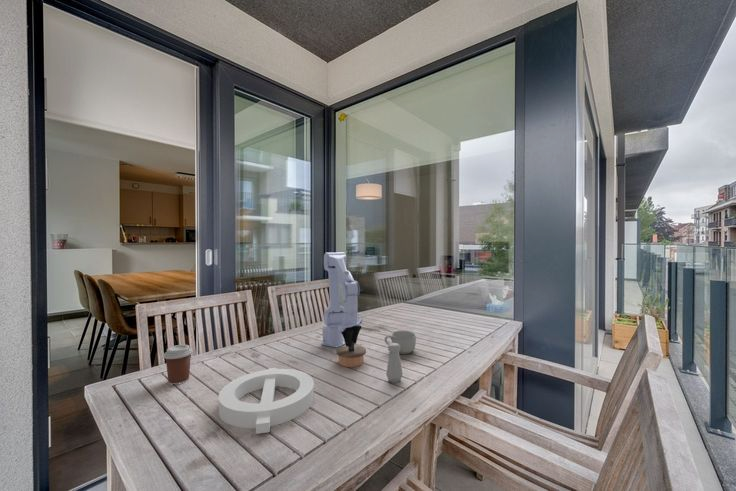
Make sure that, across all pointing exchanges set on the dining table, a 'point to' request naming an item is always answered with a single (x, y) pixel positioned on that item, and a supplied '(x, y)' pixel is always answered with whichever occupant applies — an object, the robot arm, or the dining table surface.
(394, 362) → the salt shaker
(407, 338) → the teacup
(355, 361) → the bowl
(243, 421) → the ring with crossbar
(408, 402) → the dining table surface
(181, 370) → the coffee cup
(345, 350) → the lid
